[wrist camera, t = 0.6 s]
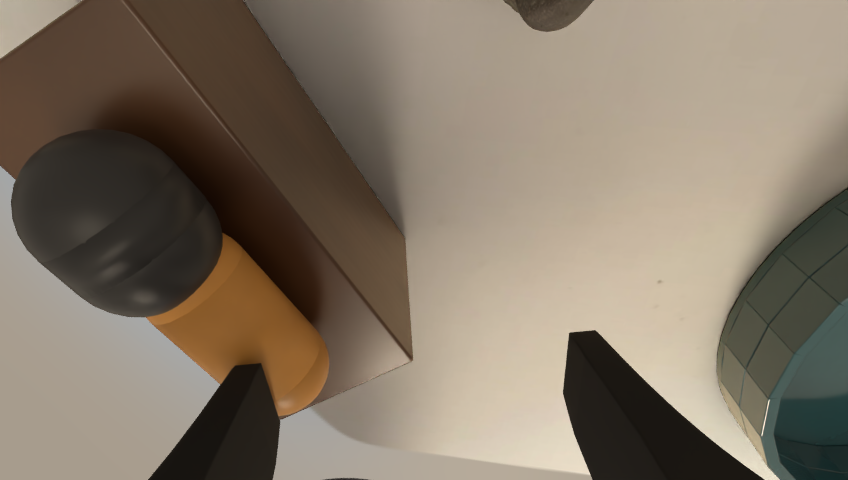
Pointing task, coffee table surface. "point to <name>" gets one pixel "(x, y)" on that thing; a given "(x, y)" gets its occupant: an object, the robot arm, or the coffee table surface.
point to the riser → (227, 156)
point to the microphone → (162, 259)
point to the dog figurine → (549, 12)
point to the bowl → (794, 351)
